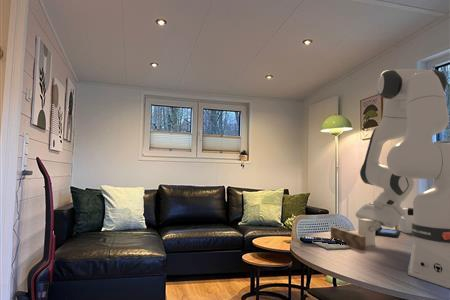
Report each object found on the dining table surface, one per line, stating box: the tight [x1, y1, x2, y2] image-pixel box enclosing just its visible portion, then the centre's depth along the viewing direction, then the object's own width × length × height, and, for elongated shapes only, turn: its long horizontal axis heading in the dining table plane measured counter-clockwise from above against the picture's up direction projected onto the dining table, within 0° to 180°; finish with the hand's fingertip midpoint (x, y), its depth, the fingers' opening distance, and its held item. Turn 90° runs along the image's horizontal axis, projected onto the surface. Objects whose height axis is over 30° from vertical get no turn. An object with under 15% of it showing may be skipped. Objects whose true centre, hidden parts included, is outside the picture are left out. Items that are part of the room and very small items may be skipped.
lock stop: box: [357, 218, 376, 247], centre depth 129 cm, size 4×4×10 cm
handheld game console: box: [375, 226, 401, 238], centre depth 153 cm, size 16×13×9 cm
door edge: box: [330, 226, 366, 251], centre depth 129 cm, size 20×2×5 cm, turn 14°
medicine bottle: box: [397, 207, 413, 234], centre depth 158 cm, size 7×7×12 cm
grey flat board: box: [311, 239, 352, 251], centre depth 125 cm, size 12×10×1 cm
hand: (365, 229), depth 129 cm, fingers closed on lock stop, 4 cm apart
